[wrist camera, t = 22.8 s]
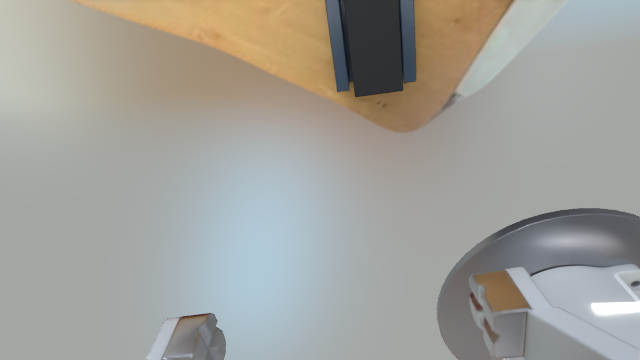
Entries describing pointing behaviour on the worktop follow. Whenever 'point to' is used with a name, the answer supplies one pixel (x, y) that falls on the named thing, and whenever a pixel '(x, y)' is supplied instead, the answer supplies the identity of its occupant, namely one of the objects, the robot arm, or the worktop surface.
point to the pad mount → (342, 49)
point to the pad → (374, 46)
